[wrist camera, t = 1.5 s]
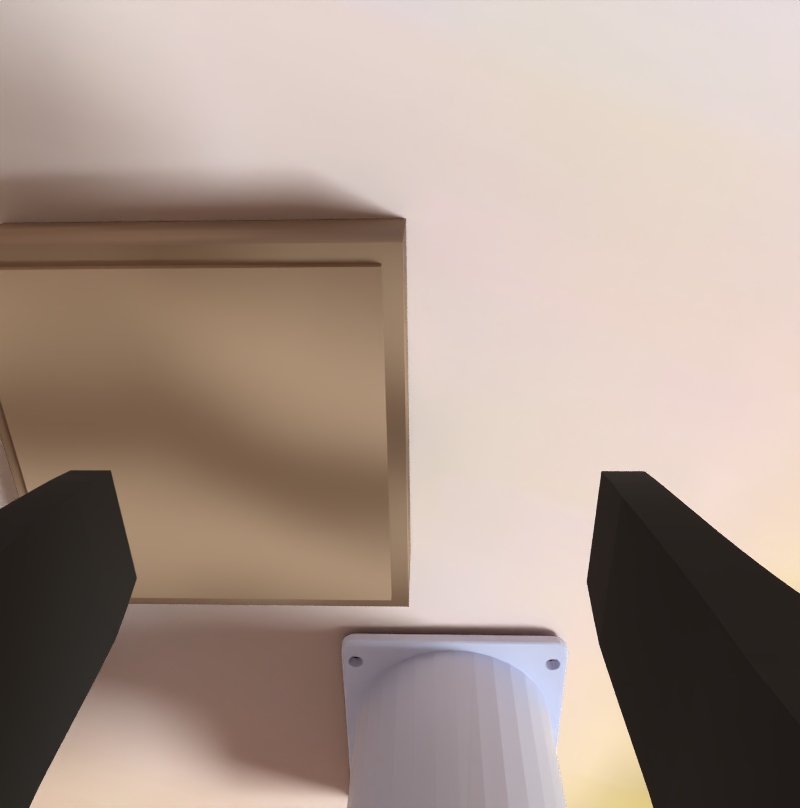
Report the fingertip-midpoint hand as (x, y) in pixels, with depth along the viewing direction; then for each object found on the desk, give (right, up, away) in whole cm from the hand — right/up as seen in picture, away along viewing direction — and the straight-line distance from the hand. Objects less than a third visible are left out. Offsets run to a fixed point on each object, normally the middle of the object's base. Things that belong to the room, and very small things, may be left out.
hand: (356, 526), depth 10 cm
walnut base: (-5, +2, +11) cm, 12 cm away
